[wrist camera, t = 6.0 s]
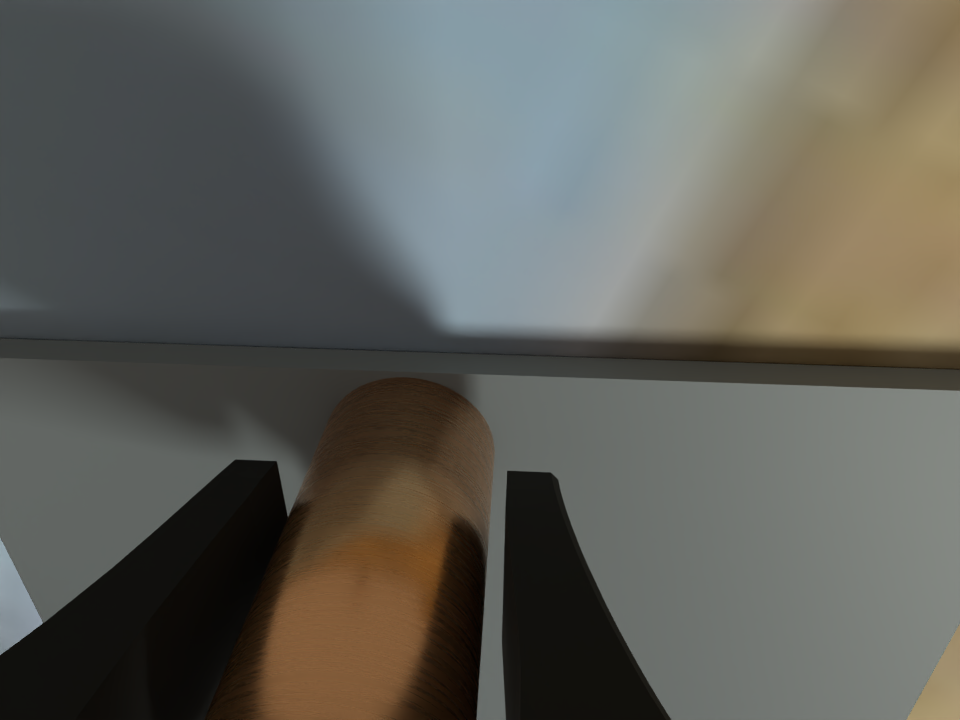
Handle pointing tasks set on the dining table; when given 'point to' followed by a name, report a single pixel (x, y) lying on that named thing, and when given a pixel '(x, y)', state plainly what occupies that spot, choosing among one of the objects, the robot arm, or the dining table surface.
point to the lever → (375, 569)
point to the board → (585, 491)
